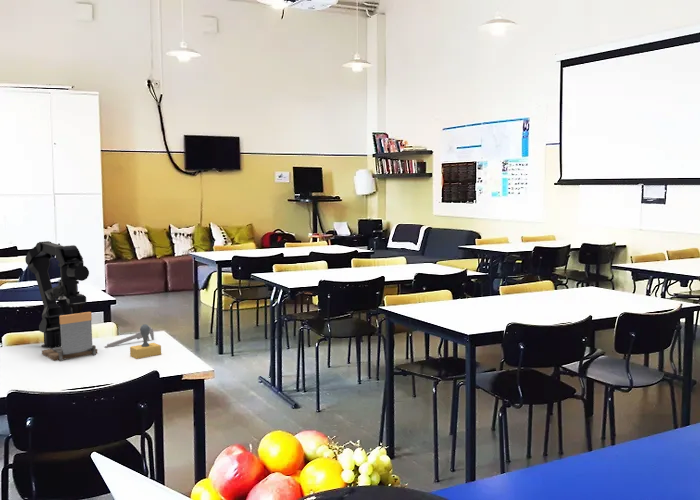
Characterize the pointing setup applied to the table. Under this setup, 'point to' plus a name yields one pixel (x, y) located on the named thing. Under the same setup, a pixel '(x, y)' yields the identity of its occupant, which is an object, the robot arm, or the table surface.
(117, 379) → the table surface
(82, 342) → the gray slab
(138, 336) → the caliper
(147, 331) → the rubber stamp
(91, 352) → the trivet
